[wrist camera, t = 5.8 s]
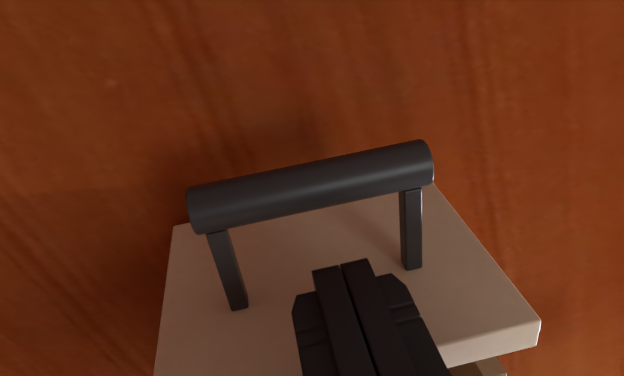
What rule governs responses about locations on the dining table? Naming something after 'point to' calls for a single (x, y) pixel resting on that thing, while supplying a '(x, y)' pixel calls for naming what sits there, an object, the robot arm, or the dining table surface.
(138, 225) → the dining table surface
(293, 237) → the drawer
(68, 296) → the dining table surface
